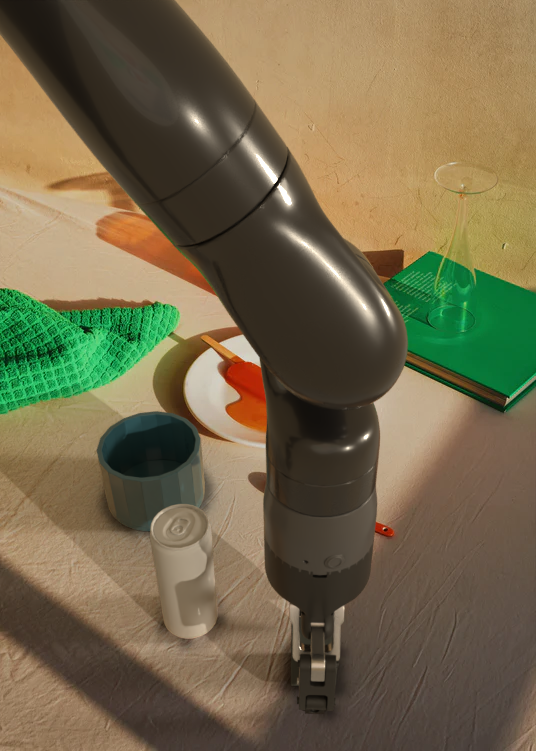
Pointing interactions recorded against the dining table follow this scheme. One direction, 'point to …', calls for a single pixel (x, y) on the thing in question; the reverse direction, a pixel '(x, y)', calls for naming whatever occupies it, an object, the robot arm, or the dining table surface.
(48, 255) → the dining table surface
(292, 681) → the dark gray rectangular block
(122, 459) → the teal round container
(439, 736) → the dining table surface
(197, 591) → the beverage can
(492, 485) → the dining table surface
